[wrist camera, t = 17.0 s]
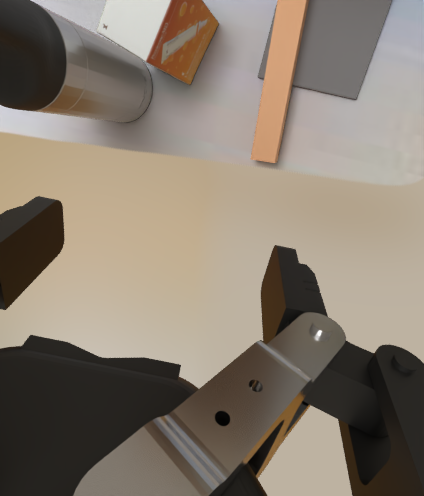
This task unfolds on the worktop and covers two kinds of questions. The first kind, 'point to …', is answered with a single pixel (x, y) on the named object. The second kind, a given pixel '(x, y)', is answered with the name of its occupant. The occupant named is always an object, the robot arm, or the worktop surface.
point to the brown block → (278, 78)
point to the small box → (161, 32)
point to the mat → (336, 45)
